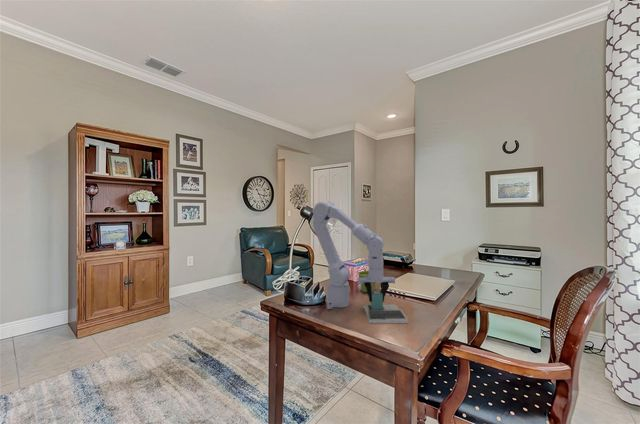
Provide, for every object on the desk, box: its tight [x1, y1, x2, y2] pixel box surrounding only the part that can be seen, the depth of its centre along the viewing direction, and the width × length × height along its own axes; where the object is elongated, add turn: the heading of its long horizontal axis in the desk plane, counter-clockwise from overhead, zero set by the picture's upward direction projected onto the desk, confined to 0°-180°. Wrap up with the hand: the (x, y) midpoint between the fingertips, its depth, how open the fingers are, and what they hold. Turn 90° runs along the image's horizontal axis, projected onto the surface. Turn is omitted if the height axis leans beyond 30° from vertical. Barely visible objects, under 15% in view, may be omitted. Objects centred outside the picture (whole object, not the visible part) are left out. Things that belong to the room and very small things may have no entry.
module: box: [370, 290, 384, 310], centre depth 103 cm, size 4×4×6 cm
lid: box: [363, 303, 400, 313], centre depth 103 cm, size 13×8×1 cm, turn 88°
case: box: [365, 309, 409, 324], centre depth 95 cm, size 13×8×2 cm, turn 88°
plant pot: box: [357, 270, 376, 293], centre depth 126 cm, size 9×9×9 cm
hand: (376, 301), depth 103 cm, fingers closed on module, 4 cm apart
